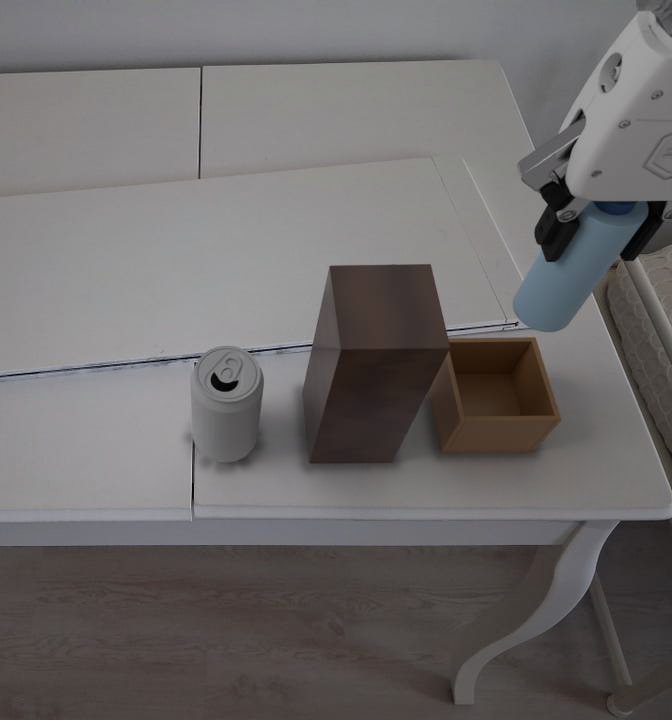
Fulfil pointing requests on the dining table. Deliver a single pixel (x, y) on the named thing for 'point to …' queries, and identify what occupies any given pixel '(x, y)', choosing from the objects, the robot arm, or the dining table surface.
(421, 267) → the plinth
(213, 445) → the beverage can
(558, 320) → the bottle
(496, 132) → the dining table surface
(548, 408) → the open wooden box
